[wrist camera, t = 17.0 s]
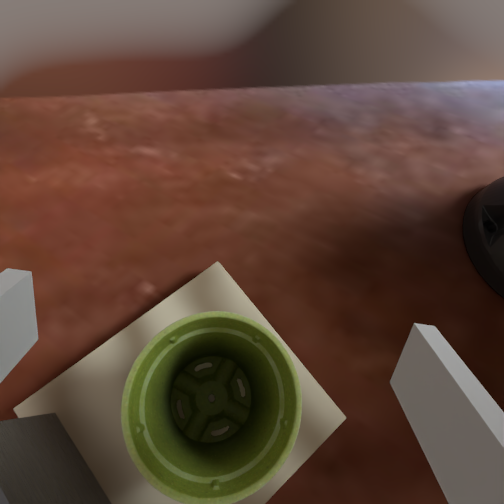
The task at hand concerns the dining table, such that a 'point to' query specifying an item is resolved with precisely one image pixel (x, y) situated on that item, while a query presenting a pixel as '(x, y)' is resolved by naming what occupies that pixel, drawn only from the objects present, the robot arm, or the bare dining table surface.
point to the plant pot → (211, 408)
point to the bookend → (44, 465)
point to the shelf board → (111, 389)
